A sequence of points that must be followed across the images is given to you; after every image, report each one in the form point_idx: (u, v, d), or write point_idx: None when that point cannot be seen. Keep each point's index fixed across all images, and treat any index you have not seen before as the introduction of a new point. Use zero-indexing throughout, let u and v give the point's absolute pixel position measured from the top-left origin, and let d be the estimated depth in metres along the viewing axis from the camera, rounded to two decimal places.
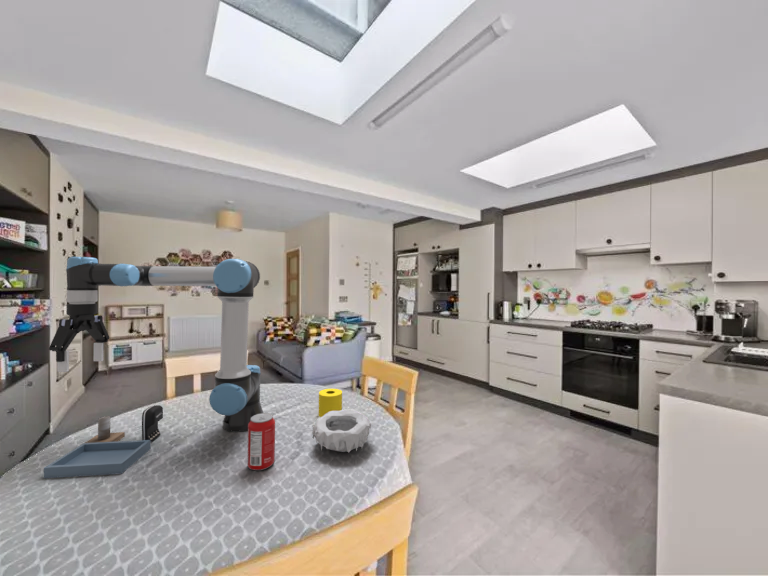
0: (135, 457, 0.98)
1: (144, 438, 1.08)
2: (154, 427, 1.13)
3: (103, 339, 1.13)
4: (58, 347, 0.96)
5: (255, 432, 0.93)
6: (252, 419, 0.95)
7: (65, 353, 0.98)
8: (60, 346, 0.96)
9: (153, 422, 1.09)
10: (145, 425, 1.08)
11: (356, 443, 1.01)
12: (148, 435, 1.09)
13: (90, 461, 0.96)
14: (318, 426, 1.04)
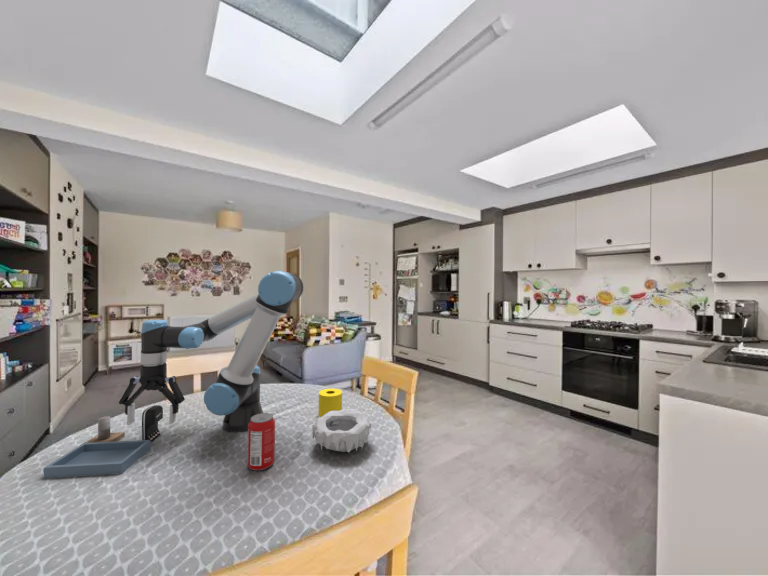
0: (135, 457, 0.98)
1: (144, 438, 1.08)
2: (154, 427, 1.13)
3: (173, 402, 1.12)
4: (119, 401, 1.09)
5: (255, 432, 0.93)
6: (252, 419, 0.95)
7: None
8: (122, 401, 1.09)
9: (153, 422, 1.09)
10: (145, 425, 1.08)
11: (356, 443, 1.01)
12: (148, 435, 1.09)
13: (90, 461, 0.96)
14: (318, 426, 1.04)
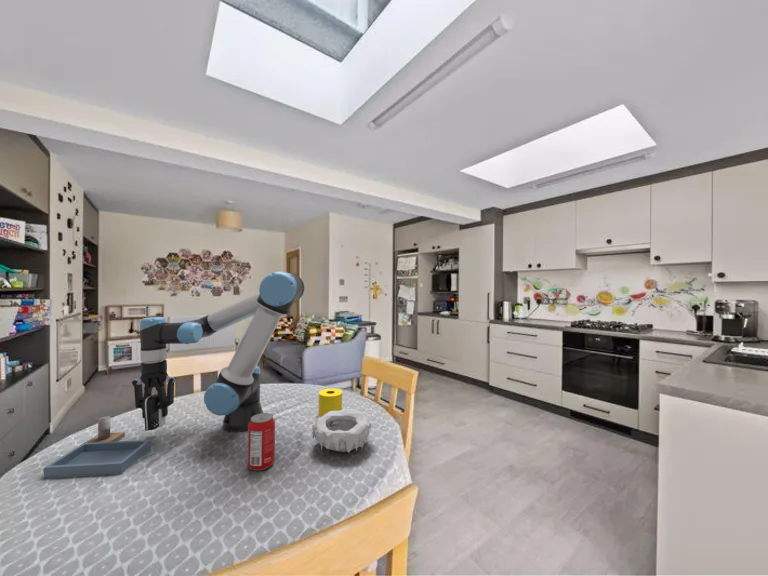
0: (135, 457, 0.98)
1: (147, 426, 1.08)
2: (156, 415, 1.13)
3: (162, 405, 1.11)
4: (136, 406, 1.10)
5: (255, 432, 0.93)
6: (252, 419, 0.95)
7: None
8: (137, 404, 1.10)
9: (155, 409, 1.09)
10: (147, 412, 1.08)
11: (356, 443, 1.01)
12: (151, 423, 1.09)
13: (90, 461, 0.96)
14: (318, 426, 1.04)
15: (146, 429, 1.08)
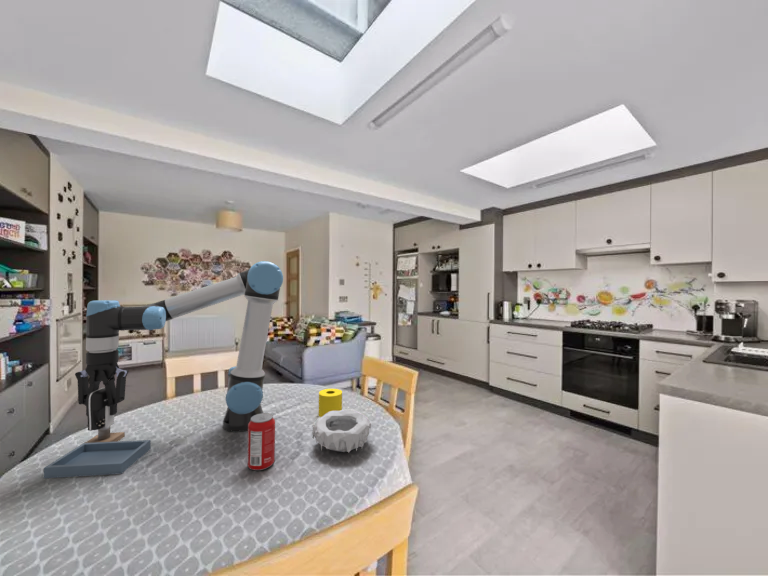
0: (135, 457, 0.98)
1: (90, 425, 0.94)
2: (104, 413, 0.98)
3: (110, 401, 0.96)
4: (79, 401, 0.95)
5: (255, 432, 0.93)
6: (252, 419, 0.95)
7: None
8: (81, 400, 0.95)
9: (100, 406, 0.94)
10: (90, 409, 0.93)
11: (356, 443, 1.01)
12: (95, 421, 0.94)
13: (90, 461, 0.96)
14: (318, 426, 1.04)
15: (89, 429, 0.94)
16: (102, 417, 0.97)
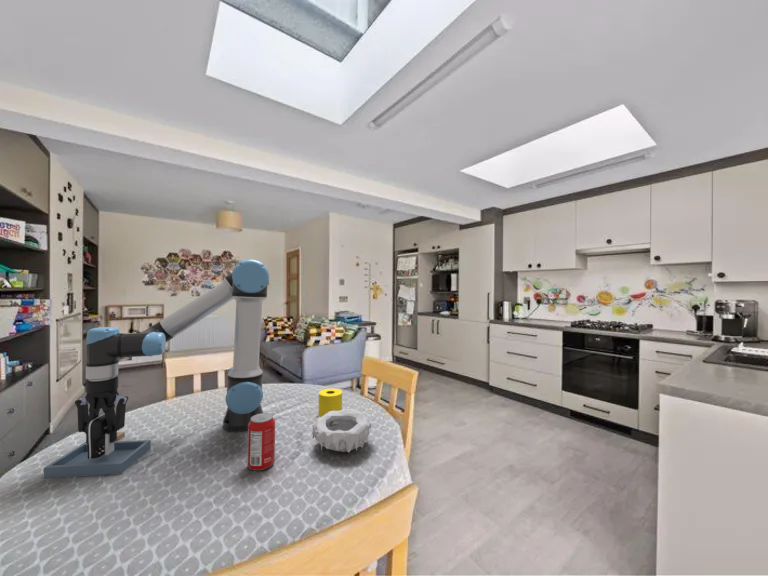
0: (135, 457, 0.98)
1: (90, 453, 0.94)
2: (104, 440, 0.98)
3: (110, 429, 0.96)
4: (79, 429, 0.95)
5: (255, 432, 0.93)
6: (252, 419, 0.95)
7: None
8: (80, 428, 0.95)
9: (100, 434, 0.94)
10: (90, 437, 0.94)
11: (356, 443, 1.01)
12: (95, 449, 0.95)
13: (90, 461, 0.96)
14: (318, 426, 1.04)
15: (89, 457, 0.94)
16: (102, 444, 0.97)
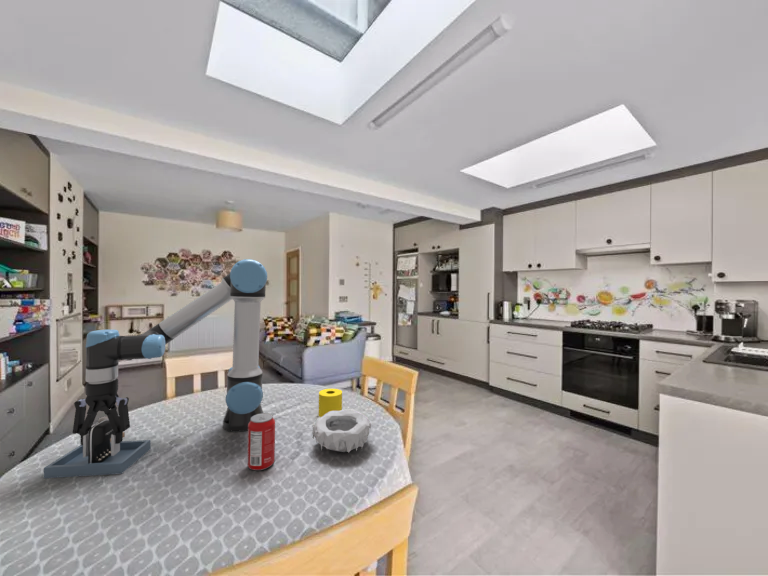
0: (135, 457, 0.98)
1: (91, 459, 0.94)
2: (105, 445, 0.98)
3: (115, 430, 0.96)
4: (73, 431, 0.95)
5: (255, 432, 0.93)
6: (252, 419, 0.95)
7: None
8: (75, 429, 0.95)
9: (102, 440, 0.94)
10: (92, 443, 0.94)
11: (356, 443, 1.01)
12: (96, 455, 0.95)
13: None
14: (318, 426, 1.04)
15: None
16: (103, 450, 0.97)
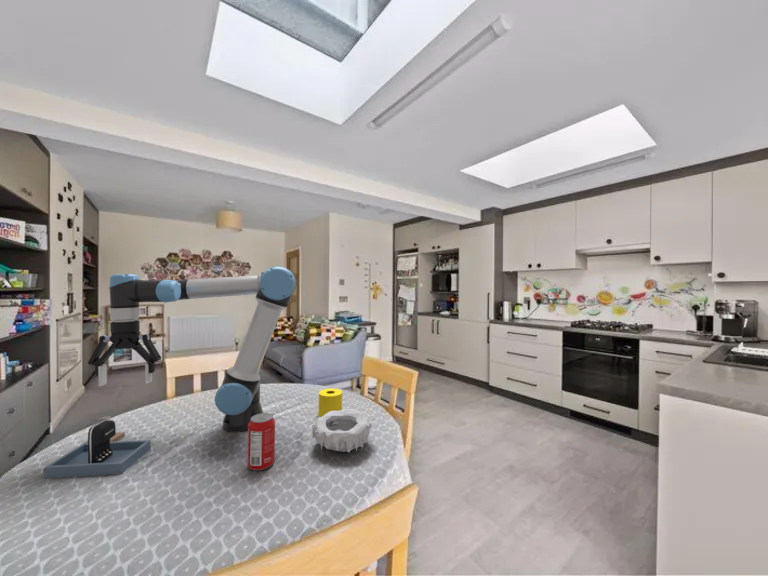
0: (135, 457, 0.98)
1: (91, 459, 0.94)
2: (104, 446, 0.98)
3: (148, 360, 1.05)
4: (89, 361, 1.02)
5: (255, 432, 0.93)
6: (252, 419, 0.95)
7: None
8: (91, 361, 1.02)
9: (101, 440, 0.94)
10: (91, 444, 0.94)
11: (356, 443, 1.01)
12: (96, 456, 0.95)
13: None
14: (318, 426, 1.04)
15: None
16: (102, 450, 0.97)
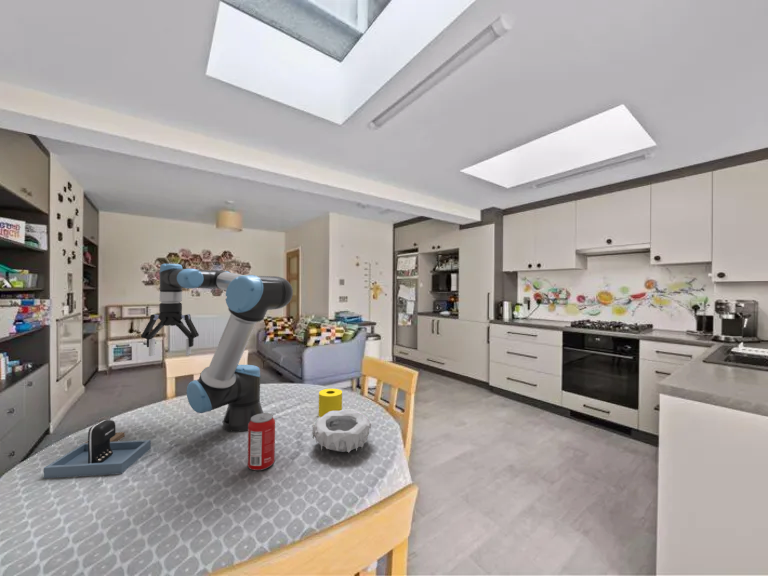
0: (135, 457, 0.98)
1: (91, 459, 0.94)
2: (104, 446, 0.98)
3: (188, 336, 1.26)
4: (142, 335, 1.24)
5: (255, 432, 0.93)
6: (252, 419, 0.95)
7: None
8: (143, 334, 1.24)
9: (101, 440, 0.94)
10: (91, 444, 0.94)
11: (356, 443, 1.01)
12: (96, 455, 0.95)
13: None
14: (318, 426, 1.04)
15: None
16: (102, 450, 0.97)
